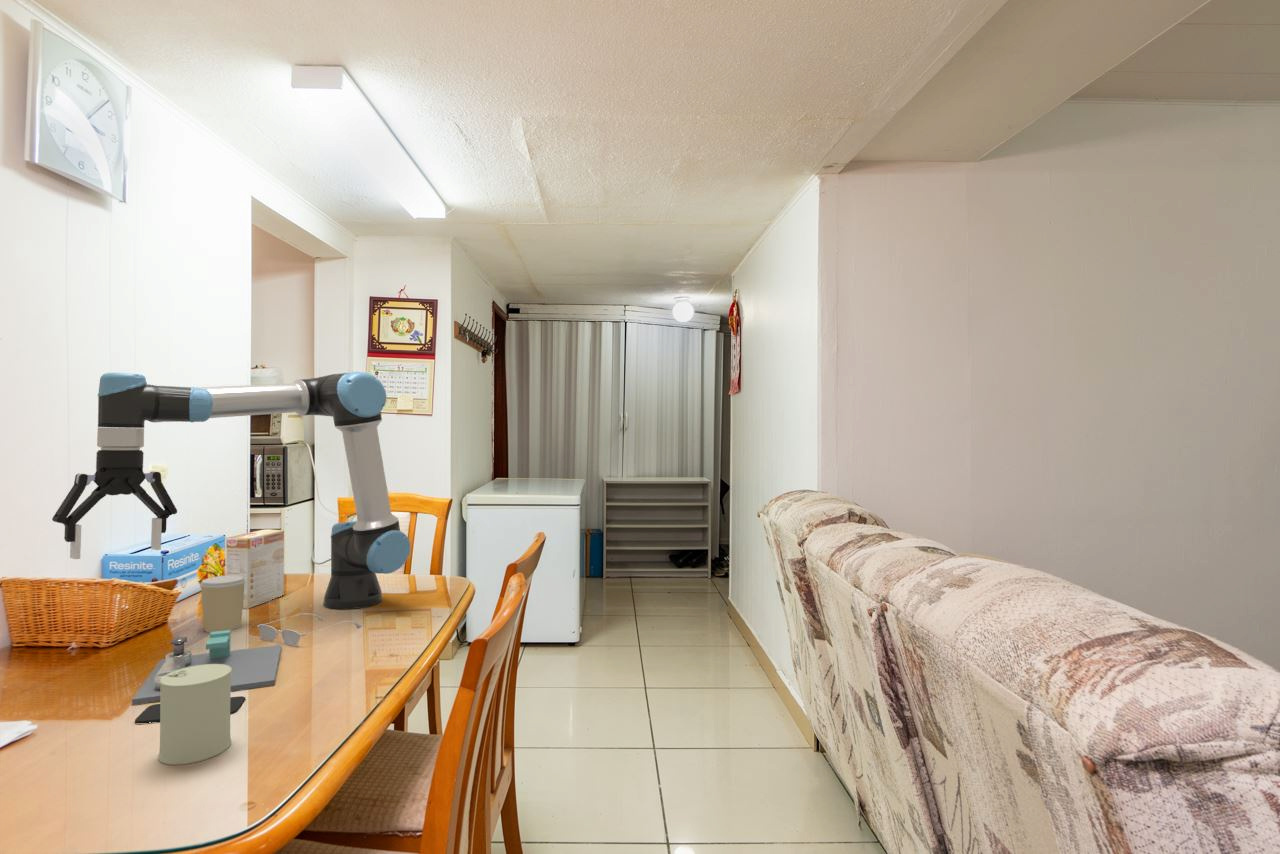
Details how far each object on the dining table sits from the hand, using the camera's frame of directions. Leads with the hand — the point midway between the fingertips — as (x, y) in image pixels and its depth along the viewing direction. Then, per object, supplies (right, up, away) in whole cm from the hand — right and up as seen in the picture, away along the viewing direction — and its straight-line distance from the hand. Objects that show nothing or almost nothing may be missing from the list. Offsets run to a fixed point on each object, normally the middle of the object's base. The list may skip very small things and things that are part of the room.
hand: (117, 553), depth 134 cm
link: (+15, -22, -6) cm, 28 cm away
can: (+39, -24, -33) cm, 56 cm away
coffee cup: (+3, -24, +28) cm, 37 cm away
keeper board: (+21, -24, -2) cm, 32 cm away
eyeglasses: (+27, -25, +25) cm, 44 cm away
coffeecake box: (-3, -24, +53) cm, 58 cm away
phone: (+28, -24, -19) cm, 42 cm away
